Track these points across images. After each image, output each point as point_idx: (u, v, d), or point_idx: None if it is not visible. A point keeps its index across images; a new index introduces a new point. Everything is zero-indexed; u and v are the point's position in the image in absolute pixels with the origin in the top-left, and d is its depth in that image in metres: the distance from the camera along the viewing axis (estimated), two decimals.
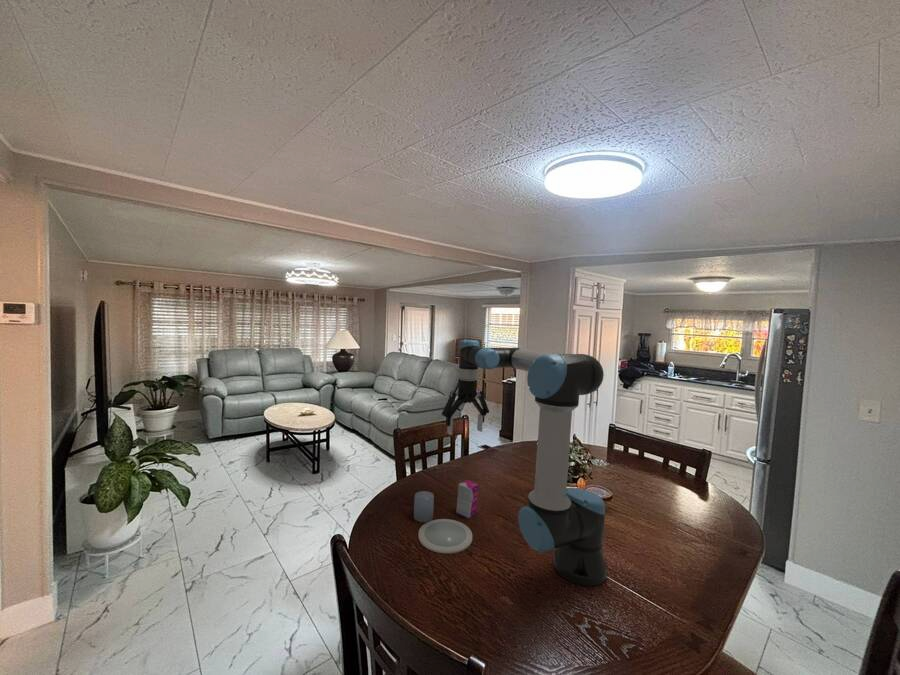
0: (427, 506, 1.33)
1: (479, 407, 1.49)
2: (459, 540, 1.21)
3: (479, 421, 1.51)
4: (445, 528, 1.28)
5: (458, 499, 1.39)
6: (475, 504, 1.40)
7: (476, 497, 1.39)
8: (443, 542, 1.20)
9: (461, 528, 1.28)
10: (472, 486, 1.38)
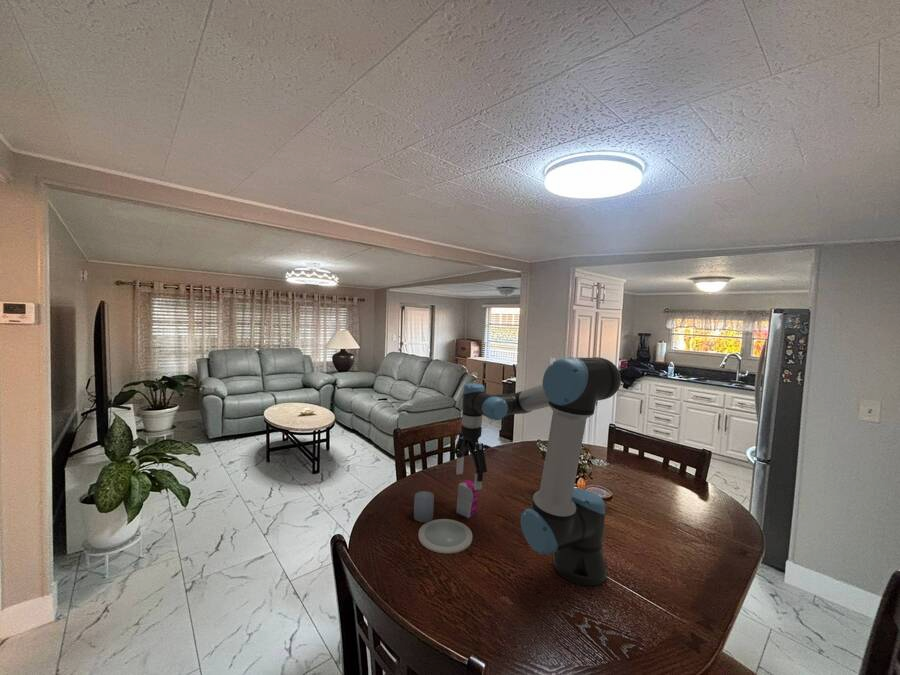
0: (427, 506, 1.33)
1: (474, 461, 1.34)
2: (459, 540, 1.21)
3: None
4: (445, 528, 1.28)
5: (458, 499, 1.39)
6: (475, 504, 1.40)
7: (476, 497, 1.39)
8: (443, 542, 1.20)
9: (461, 528, 1.28)
10: (472, 486, 1.38)
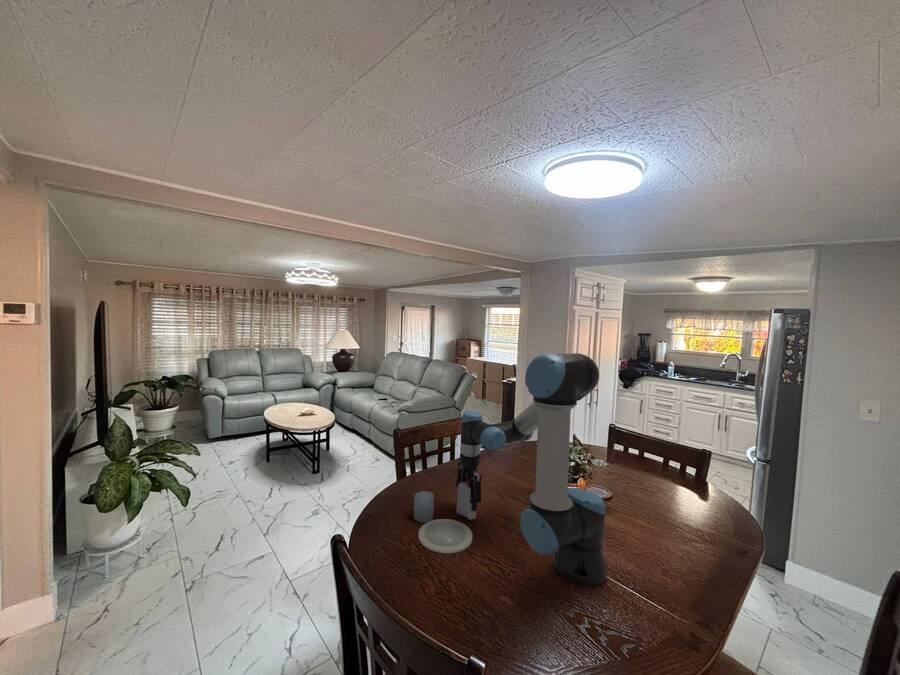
0: (427, 506, 1.33)
1: None
2: (459, 540, 1.21)
3: None
4: (445, 528, 1.28)
5: (458, 499, 1.39)
6: None
7: None
8: (443, 542, 1.20)
9: (461, 528, 1.28)
10: None
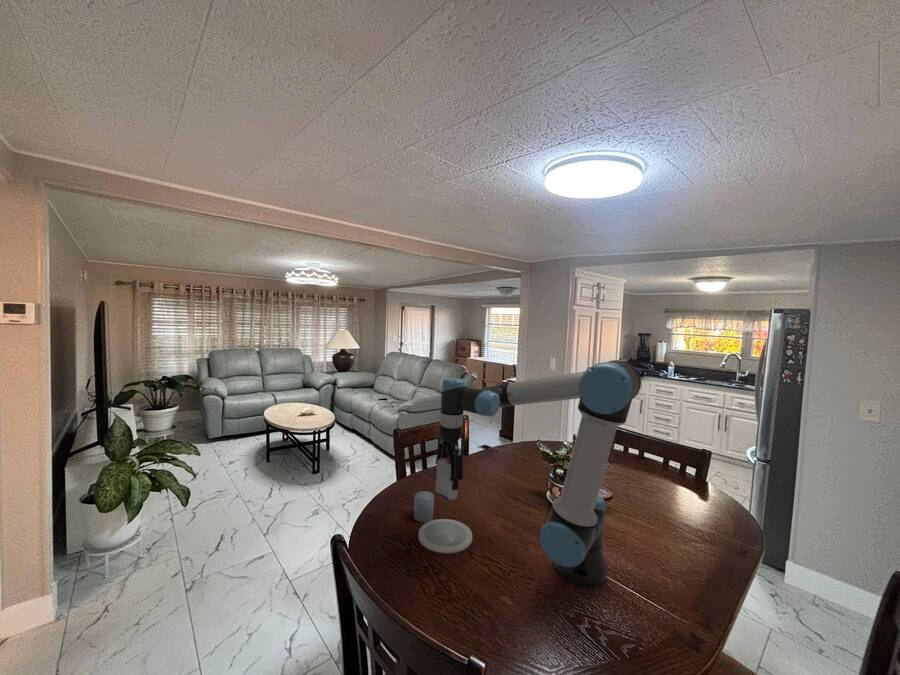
0: (427, 506, 1.33)
1: None
2: (459, 540, 1.21)
3: None
4: (445, 528, 1.28)
5: (437, 477, 1.23)
6: None
7: None
8: (443, 542, 1.20)
9: (461, 528, 1.28)
10: None
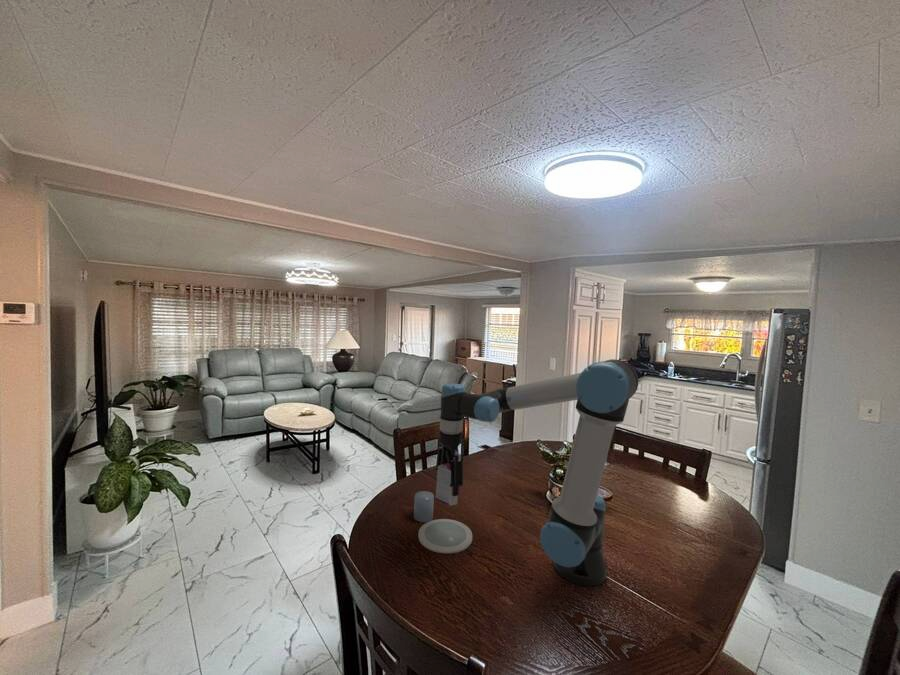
0: (427, 506, 1.33)
1: None
2: (459, 540, 1.21)
3: None
4: (445, 528, 1.28)
5: (437, 483, 1.23)
6: None
7: None
8: (443, 542, 1.20)
9: (461, 528, 1.28)
10: None
